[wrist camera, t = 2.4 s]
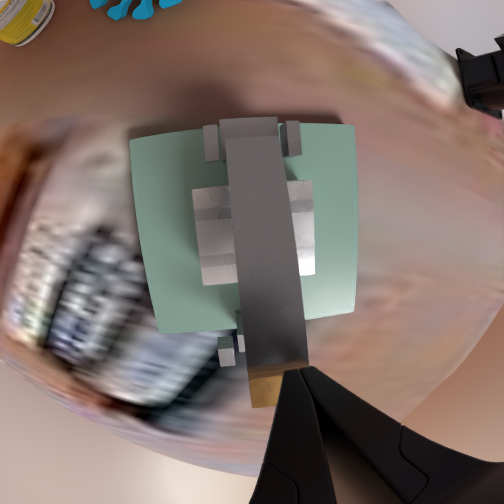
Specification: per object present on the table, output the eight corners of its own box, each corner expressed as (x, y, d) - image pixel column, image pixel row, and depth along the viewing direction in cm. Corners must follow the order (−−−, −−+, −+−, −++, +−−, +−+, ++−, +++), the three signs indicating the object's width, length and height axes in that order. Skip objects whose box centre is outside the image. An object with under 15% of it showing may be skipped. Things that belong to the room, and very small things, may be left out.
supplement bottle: (11, 28, 10) (-45, -1, 1) (53, -8, 10) (4, -51, 1) (14, 59, 12) (-54, 32, 2) (60, 19, 11) (-1, -28, 2)
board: (346, 127, 17) (353, 125, 15) (347, 304, 20) (353, 311, 19) (135, 141, 16) (129, 139, 14) (162, 325, 19) (159, 333, 18)
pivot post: (276, 129, 16) (298, 110, 11) (278, 161, 17) (302, 155, 12) (209, 133, 16) (202, 115, 11) (212, 166, 17) (205, 161, 11)
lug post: (277, 297, 19) (294, 340, 14) (277, 312, 20) (294, 357, 14) (219, 303, 19) (217, 349, 14) (221, 318, 19) (220, 366, 14)
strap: (225, 147, 12) (224, 128, 11) (276, 144, 12) (281, 125, 11) (250, 394, 10) (252, 408, 9) (306, 386, 11) (315, 398, 9)
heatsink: (298, 179, 16) (312, 180, 13) (301, 258, 17) (314, 273, 15) (197, 187, 16) (191, 189, 13) (206, 268, 17) (203, 285, 14)
